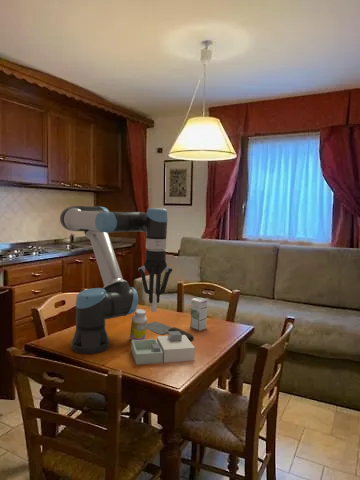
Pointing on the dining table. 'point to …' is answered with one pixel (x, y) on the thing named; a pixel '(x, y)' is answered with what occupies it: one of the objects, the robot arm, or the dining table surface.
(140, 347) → the box
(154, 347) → the slate tile
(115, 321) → the dining table surface
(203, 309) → the syrup box
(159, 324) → the cleaver
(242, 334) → the dining table surface
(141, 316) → the supplement bottle
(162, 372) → the dining table surface
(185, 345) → the plate
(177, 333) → the slate tile
